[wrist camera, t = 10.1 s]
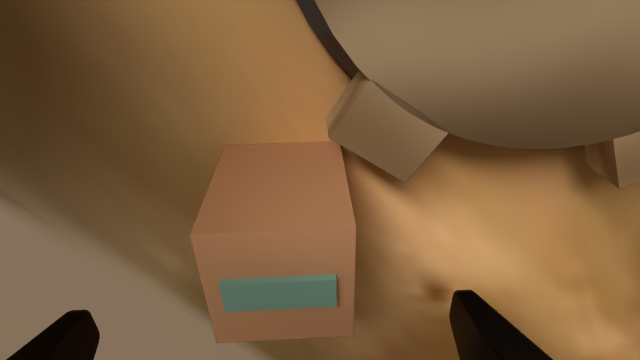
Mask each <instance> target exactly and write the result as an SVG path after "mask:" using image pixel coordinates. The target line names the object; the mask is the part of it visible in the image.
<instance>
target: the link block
mask: <svg viewBox="0 0 640 360" xmlns="http://www.w3.org/2000/svg"><path fill="white" fill-rule="evenodd" d="M190 238H191V242H192V246H193V250H194V254H195V258H196V262H197V266H198V270H199V275H200V279H201V283H202V287H203V291H204V295H205V299H206V303H207V307H208V311H209V315H210V319H211V323H212V327H213V331H214V335H215V338H216V343H226V342H246V341H266V340H286V339H306V338H326V337H346V336H353V333H354V294H355V255H356V224H355V218H354V213H353V208H352V203H351V198H350V192H349V187H348V182H347V177H346V171H345V166H344V161H343V156H342V151H341V145H340V144H338V143H337V142H335V141H316V142H291V143H267V144H242V145H225V147H224V149H223V152H222V154H221V157H220V159H219V162H218V164H217V167H216V169H215V172H214V174H213V177H212V179H211V182H210V184H209V187H208V190H207V192H206V195H205V197H204V200H203V202H202V205H201V207H200V210H199V212H198V215H197V217H196V220H195V222H194V225H193V227H192V230H191V233H190Z"/></svg>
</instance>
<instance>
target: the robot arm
mask: <svg viewBox="0 0 640 360" xmlns="http://www.w3.org/2000/svg"><path fill="white" fill-rule="evenodd" d="M449 316H450V323H451V327H452V331H453V335H454V339H455V342H456V346H457V350H458V354H459V358H460V360H553V359H552V358H550V357H549V356H548V355H547V354H546V353H545V352H543V351H542V350H541V349H540V348H539V347H538V346H536V345H535V344H534V343H533V342H532V341H531V340H530V339H528V338H527V337H526V336H525V335H524V334H523V333H521V332H520V331H519V330H518V329H517V328H516V327H514V326H513V325H512V324H511V323H510V322H509V321H507V320H506V319H505V318H504V317H503V316H502V315H501V314H499V313H498V312H497V311H496V310H495V309H494V308H492V307H491V306H490V305H489V304H488V303H487V302H485V301H484V300H483V299H482V298H481V297H480V296H478V295H477V294H476V293H475V292H474V291H472V290H457V291H455V292H454V294H453V298H452V303H451V308H450V314H449ZM99 336H100V334H99V330H98V328H97V326H96V324H95V322H94V320H93V318H92V316H91V313H90V312H89V311H88V310H72V311H69V312H67V313H65V314H64V315H63V316H62V317H60V318H59V319H58V320H57V321H55V322H54V323H53V324H51V325H50V326H49V327H48V328H46V329H45V330H44V331H42V332H41V333H40V334H39V335H37V336H36V337H35V338H33V339H32V340H31V341H30V342H28V343H27V344H26V345H24V346H23V347H22V348H21V349H19V350H18V351H17V352H16V353H14V354H13V355H12V356H10V357H9V358H8V359H7V360H93V359H94V356H95V353H96V349H97V346H98V343H99V338H100V337H99Z"/></svg>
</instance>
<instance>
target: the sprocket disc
mask: <svg viewBox="0 0 640 360" xmlns="http://www.w3.org/2000/svg"><path fill="white" fill-rule="evenodd" d="M315 2H316V4H317V6H318V8H319V9H320V11H321V13H322V15H323V17H324V19H325V20H326V22H327V24H328V26H329V28H330V30H331V31H332V33H333V35H334V36H335V38H336V39H337V40H338V42H339V43H340V44H341V46H342V47H343V49H344V50H345V51H346V53H347V54H348V55H349V57H350V58H351V60H352V61H353V62H354V64H355V65H356V66H357V67H358V68H359V70H358V72H357V73H356V75H355V76H354V78H353V79H352V80H351V82H350V83H349V85H348V86H347V88H346V89H345V90H344V92H343V93H342V95H341V96H340V98H339V99H338V101H337V102H336V103H335V105H334V106H333V108H332V109H331V111H330V112H329V114H328V115H327V116H326V120H327V128H328V135H329V138H330V139H332V140H333V141H335V142H337V143H338V144H340V145H342V146H343V147H345V148H347V149H349V150H350V151H352V152H354V153H355V154H357V155H359V156H360V157H362V158H364V159H366V160H367V161H369V162H371V163H372V164H374V165H376V166H377V167H379V168H381V169H382V170H384V171H386V172H388V173H389V174H391V175H393V176H394V177H396V178H398V179H399V180H401V181H403V182H406V181H407V180H408V179H409V178H410V177H411V175H412V174H413V173H414V172H415V171H416V170H417V168H418V167H419V166H420V165H421V164H422V163H423V162H424V160H425V159H426V158H427V157H428V156H429V155H430V154H431V152H432V151H433V150H434V149H435V148H436V147H437V146H438V144H439V143H440V142H441V141H442V140H443V139H444V138H445V136H446V135H447V134H448V133H450V134H453V135H455V136H458V137H460V138H463V139H466V140H470V141H474V142H479V143H483V144H487V145H491V146H496V147H506V148H516V149H526V150H530V149H562V148H569V147H576V146H583V145H584V147H585V153H586V159H587V165H588V166H590V167H591V168H592V169H594V170H595V171H596V172H597V173H599V174H600V175H601V176H603V177H604V178H605V179H607V180H608V181H609V182H611V183H612V184H613V185H615V186H616V187H617V188H619V189H621V188H623V187H626V186H628V185H631V184H634V183H636V182H639V181H640V0H315Z"/></svg>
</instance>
